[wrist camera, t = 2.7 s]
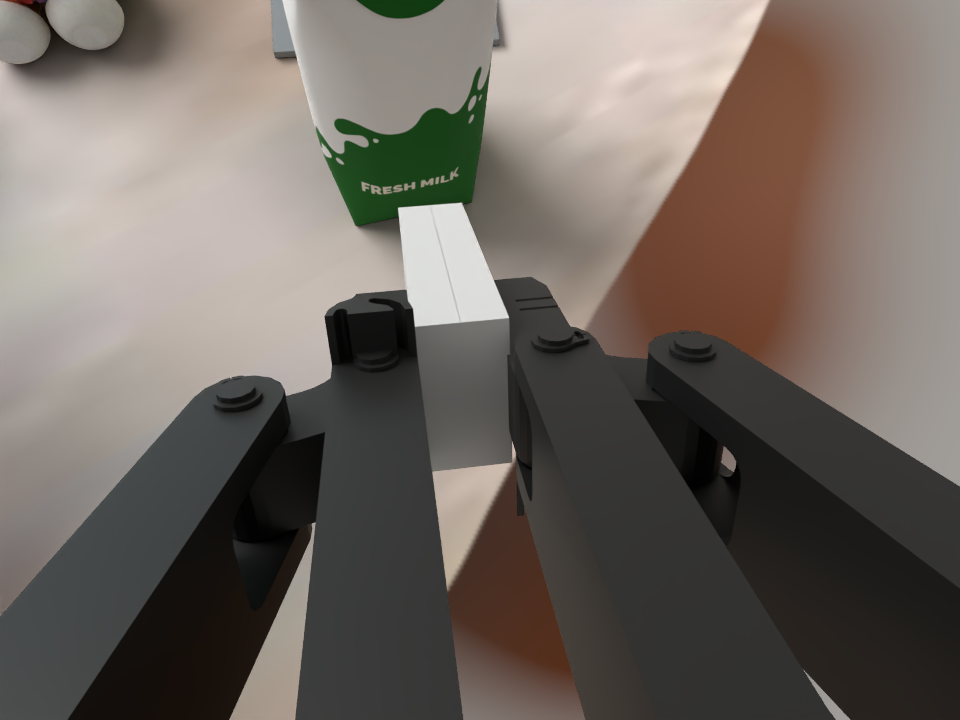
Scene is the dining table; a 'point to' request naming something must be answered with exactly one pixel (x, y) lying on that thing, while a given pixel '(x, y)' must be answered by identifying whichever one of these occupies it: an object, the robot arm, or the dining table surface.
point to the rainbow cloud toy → (56, 26)
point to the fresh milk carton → (396, 96)
